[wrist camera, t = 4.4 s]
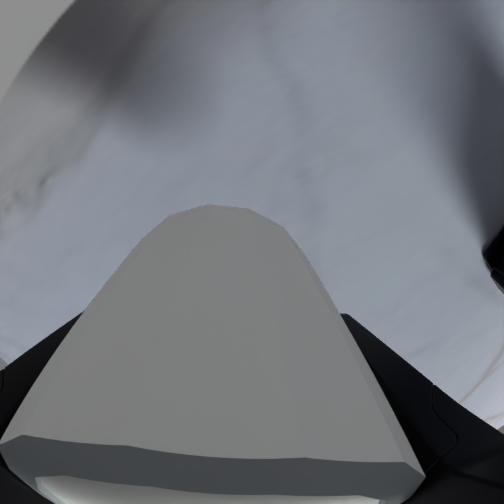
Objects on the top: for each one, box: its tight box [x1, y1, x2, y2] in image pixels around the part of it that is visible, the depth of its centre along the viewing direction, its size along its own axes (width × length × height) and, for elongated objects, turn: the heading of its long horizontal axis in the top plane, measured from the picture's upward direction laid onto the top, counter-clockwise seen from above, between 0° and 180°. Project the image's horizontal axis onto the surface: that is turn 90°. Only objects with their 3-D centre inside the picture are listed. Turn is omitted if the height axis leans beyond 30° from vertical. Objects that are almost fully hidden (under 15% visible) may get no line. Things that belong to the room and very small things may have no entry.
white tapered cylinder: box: [0, 204, 426, 504], centre depth 6 cm, size 7×7×7 cm
